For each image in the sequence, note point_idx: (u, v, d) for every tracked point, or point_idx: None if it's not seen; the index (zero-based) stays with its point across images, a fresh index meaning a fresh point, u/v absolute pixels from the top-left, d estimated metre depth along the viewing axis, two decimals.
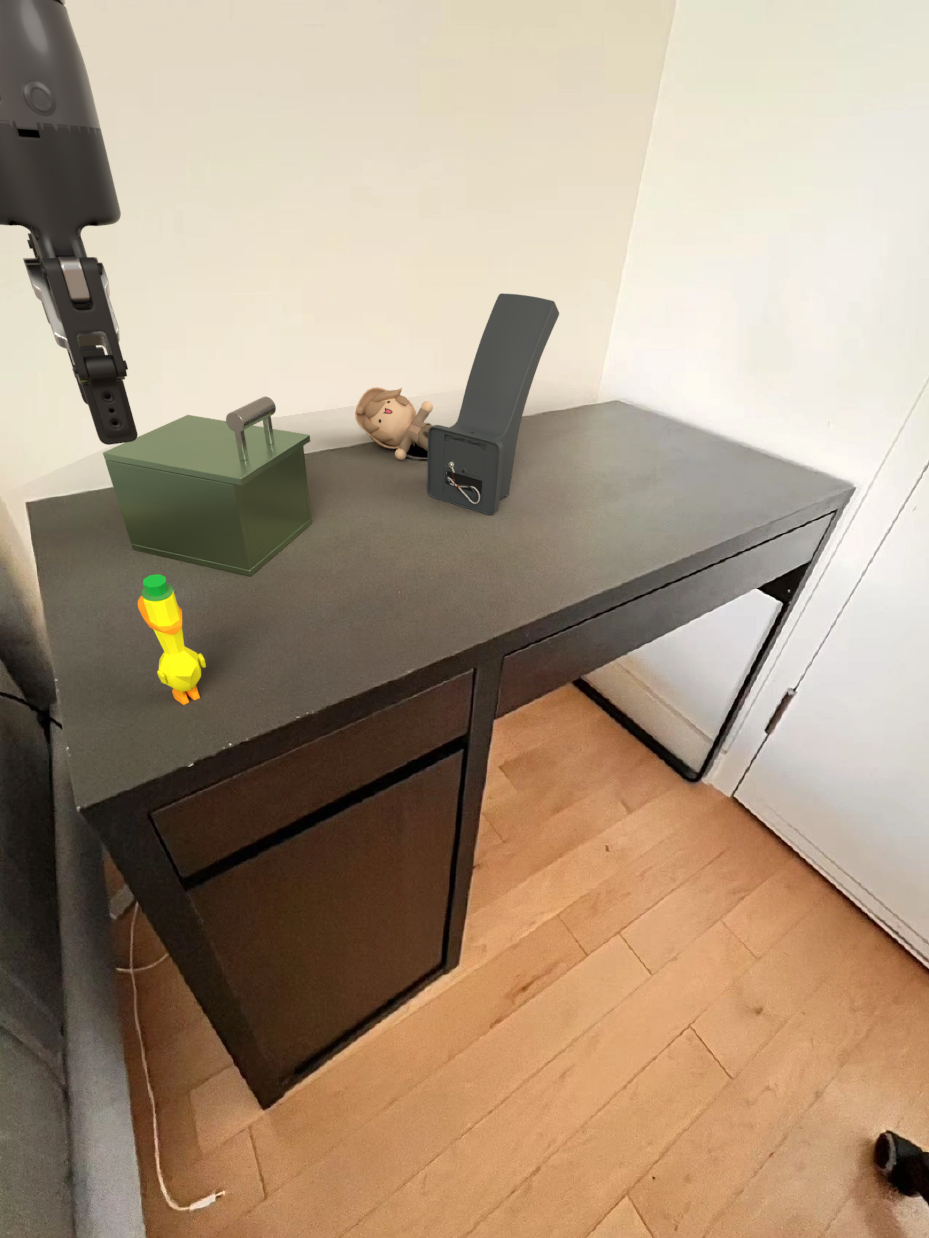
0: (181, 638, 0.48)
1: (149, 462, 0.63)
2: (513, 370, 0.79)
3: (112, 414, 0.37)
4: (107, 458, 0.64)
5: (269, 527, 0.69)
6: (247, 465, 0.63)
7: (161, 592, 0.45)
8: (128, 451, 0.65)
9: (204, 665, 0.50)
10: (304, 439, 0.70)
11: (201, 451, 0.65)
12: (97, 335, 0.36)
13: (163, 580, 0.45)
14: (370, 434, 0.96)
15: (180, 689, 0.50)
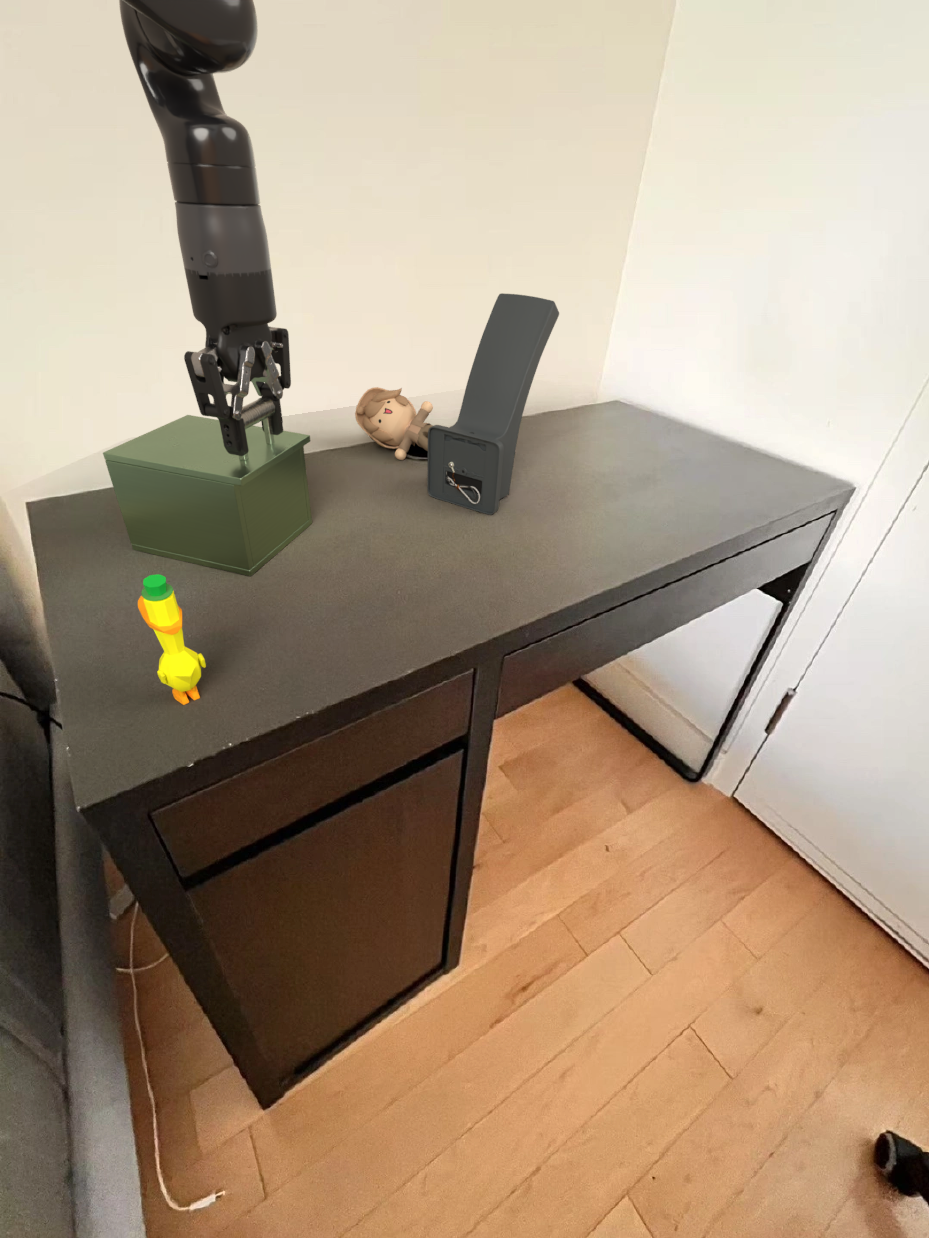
0: (181, 638, 0.48)
1: (149, 462, 0.63)
2: (513, 370, 0.79)
3: (228, 437, 0.61)
4: (107, 458, 0.64)
5: (269, 527, 0.69)
6: (247, 465, 0.63)
7: (161, 592, 0.45)
8: (128, 451, 0.65)
9: (204, 665, 0.50)
10: (304, 439, 0.70)
11: (201, 452, 0.65)
12: (229, 392, 0.59)
13: (163, 580, 0.45)
14: (370, 434, 0.96)
15: (180, 689, 0.50)
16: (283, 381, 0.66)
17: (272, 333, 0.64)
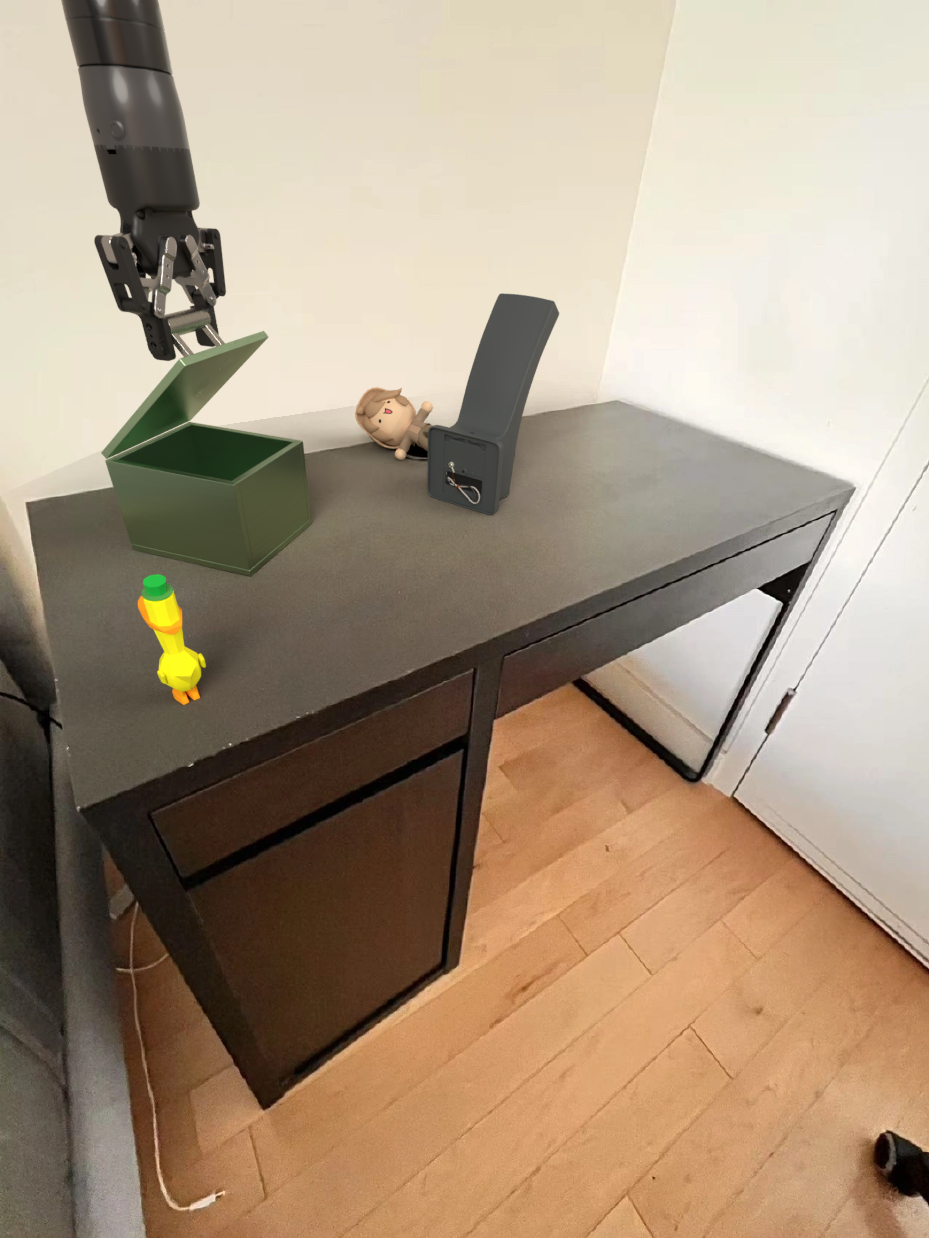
0: (181, 638, 0.48)
1: (126, 423, 0.61)
2: (513, 370, 0.79)
3: (151, 339, 0.57)
4: (106, 455, 0.64)
5: (269, 527, 0.69)
6: None
7: (161, 592, 0.45)
8: None
9: (204, 665, 0.50)
10: (258, 334, 0.65)
11: None
12: (150, 287, 0.56)
13: (163, 580, 0.45)
14: (370, 434, 0.96)
15: (180, 689, 0.50)
16: (216, 287, 0.63)
17: (201, 232, 0.60)
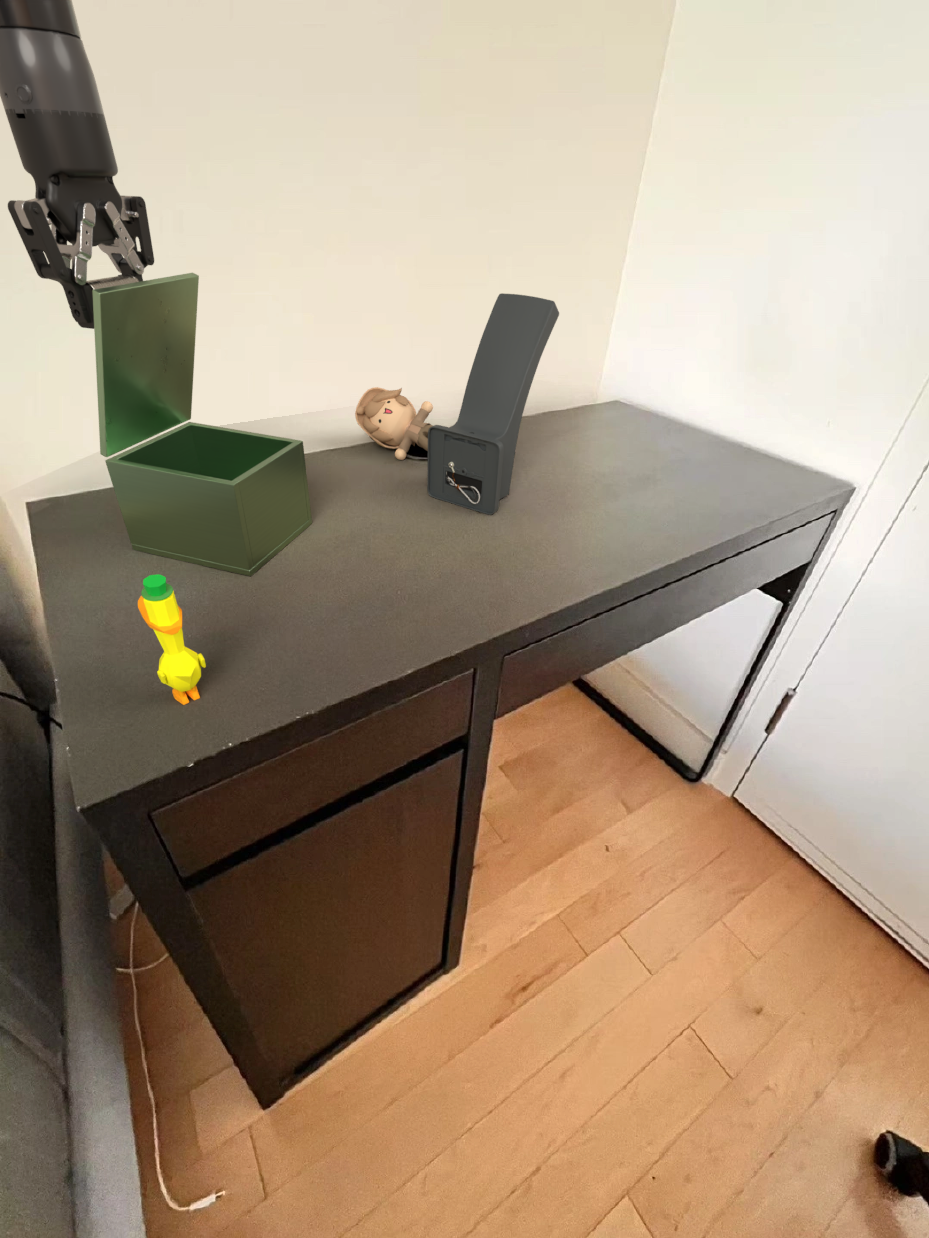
0: (181, 638, 0.48)
1: (98, 403, 0.61)
2: (513, 370, 0.79)
3: (74, 306, 0.58)
4: (104, 453, 0.64)
5: (269, 527, 0.69)
6: None
7: (161, 592, 0.45)
8: None
9: (204, 665, 0.50)
10: (186, 274, 0.63)
11: None
12: (69, 253, 0.56)
13: (163, 580, 0.45)
14: (370, 434, 0.96)
15: (180, 689, 0.50)
16: (144, 256, 0.63)
17: (125, 200, 0.60)
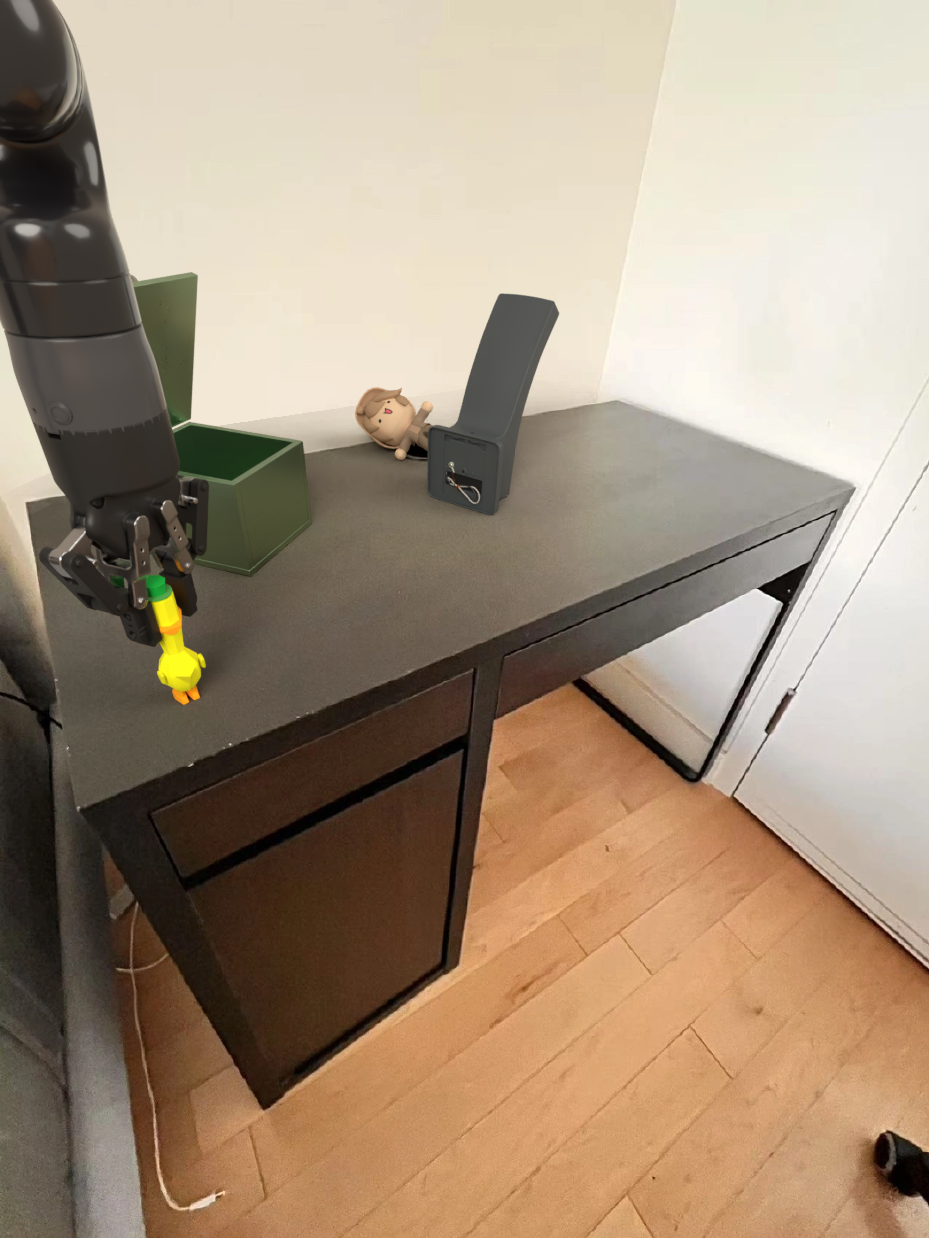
0: (181, 638, 0.48)
1: None
2: (513, 370, 0.79)
3: (131, 628, 0.45)
4: None
5: (269, 527, 0.69)
6: None
7: (160, 593, 0.45)
8: None
9: (204, 665, 0.50)
10: (185, 274, 0.63)
11: None
12: (123, 577, 0.42)
13: (162, 581, 0.45)
14: (370, 434, 0.96)
15: (180, 689, 0.50)
16: (194, 548, 0.48)
17: (184, 484, 0.46)
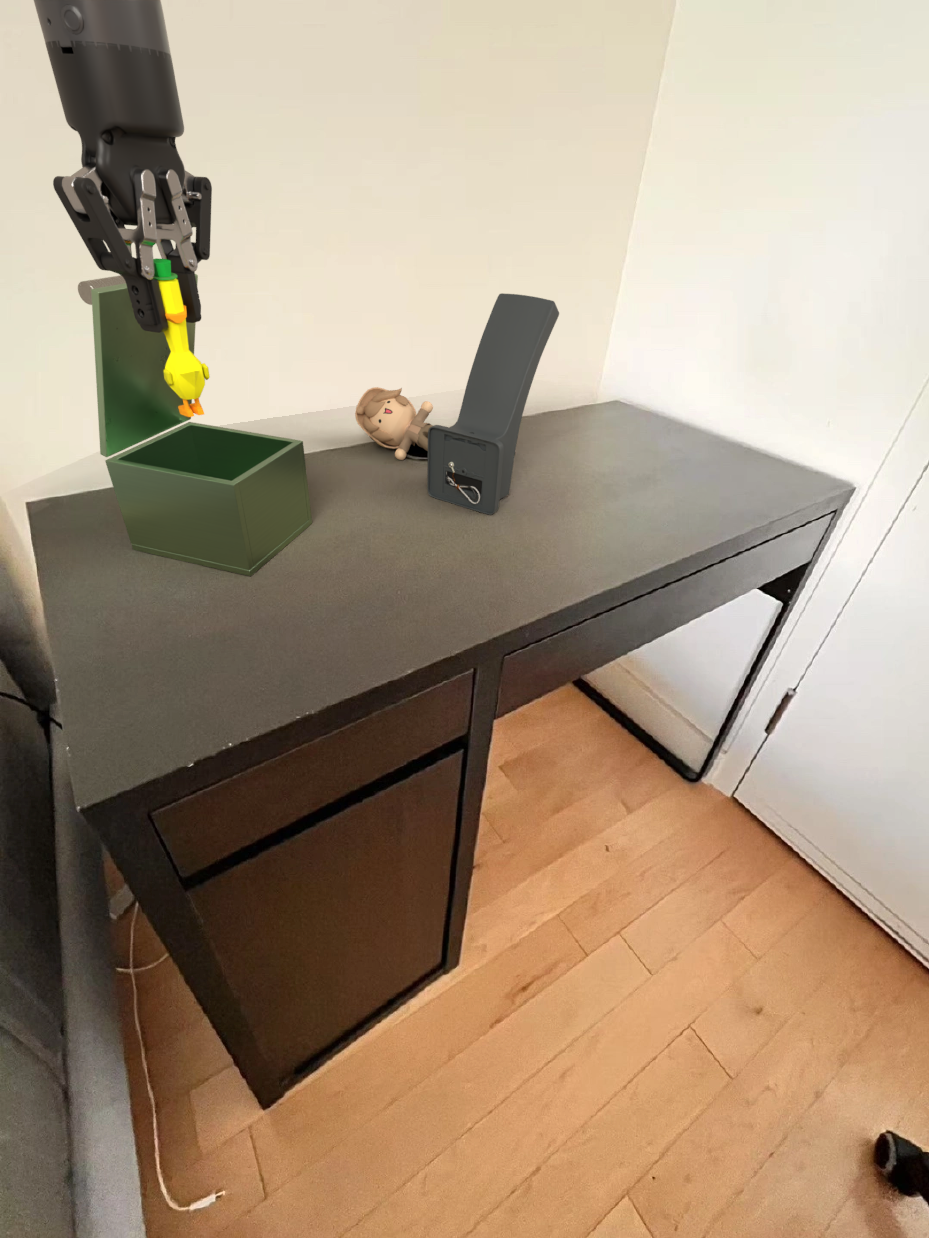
0: (186, 335, 0.51)
1: None
2: (513, 370, 0.79)
3: (138, 305, 0.47)
4: (104, 453, 0.64)
5: (269, 527, 0.69)
6: None
7: (166, 273, 0.48)
8: None
9: (208, 375, 0.53)
10: None
11: None
12: (131, 240, 0.45)
13: (168, 261, 0.47)
14: (370, 434, 0.96)
15: (185, 394, 0.52)
16: (198, 248, 0.50)
17: (188, 177, 0.49)
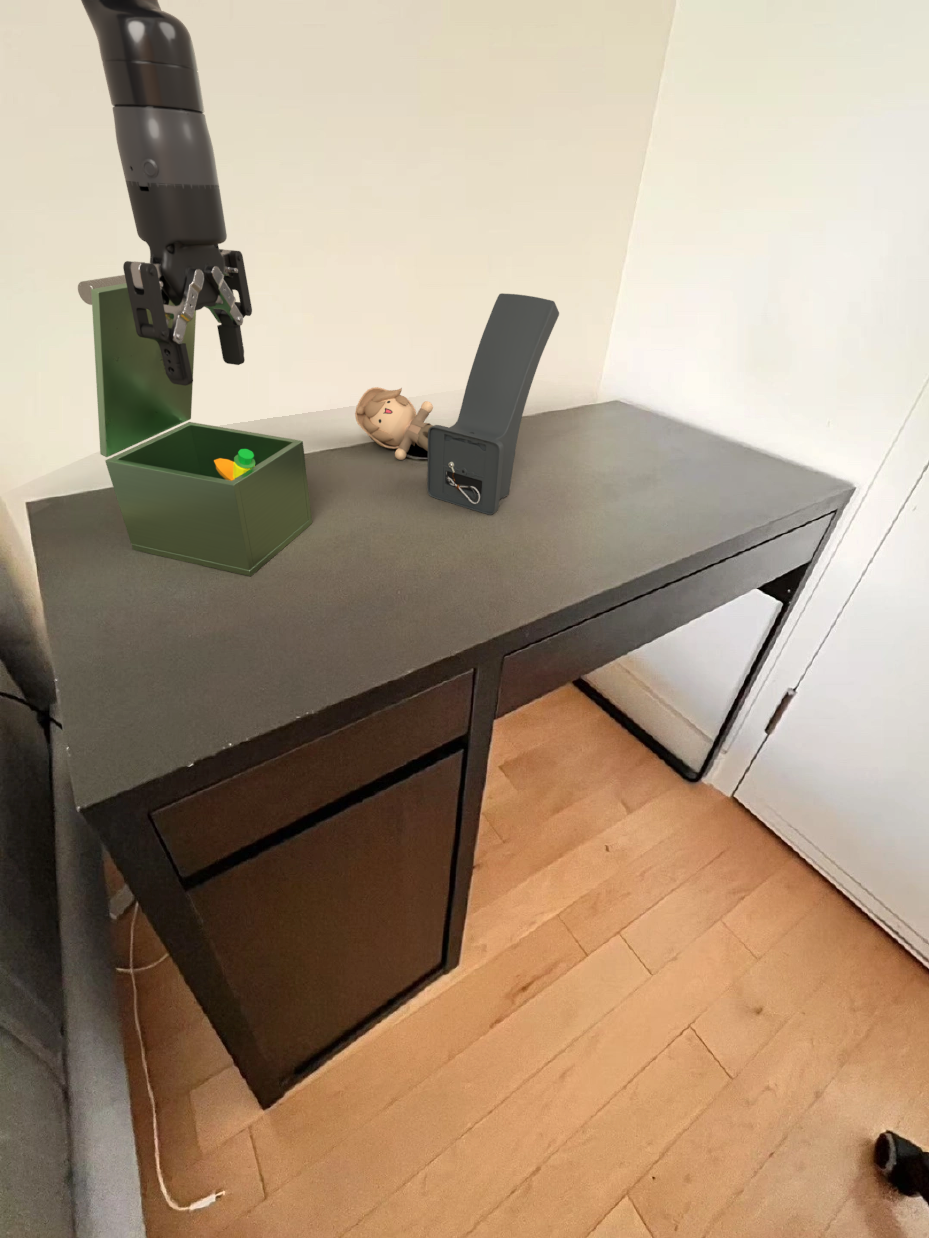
0: None
1: None
2: (513, 370, 0.79)
3: (169, 364, 0.57)
4: (104, 453, 0.64)
5: (269, 527, 0.69)
6: None
7: (250, 462, 0.65)
8: None
9: None
10: None
11: None
12: (172, 313, 0.56)
13: (252, 454, 0.64)
14: (370, 434, 0.96)
15: None
16: (243, 307, 0.64)
17: (225, 257, 0.61)
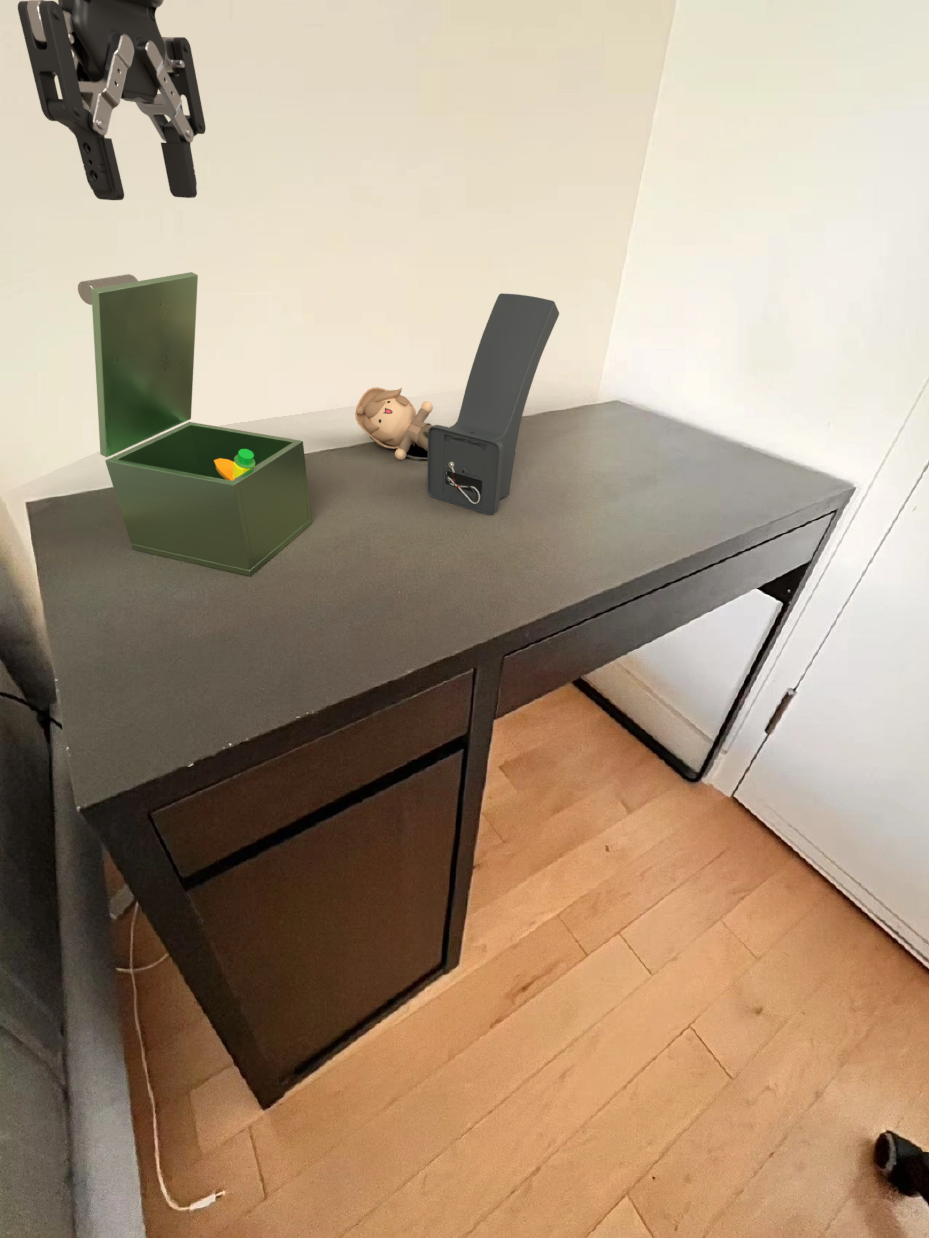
0: None
1: None
2: (513, 370, 0.79)
3: (91, 166, 0.44)
4: (104, 453, 0.64)
5: (269, 527, 0.69)
6: None
7: (250, 462, 0.65)
8: None
9: None
10: (185, 274, 0.63)
11: None
12: (91, 92, 0.43)
13: (252, 454, 0.64)
14: (370, 434, 0.96)
15: None
16: (194, 120, 0.51)
17: (167, 44, 0.48)
